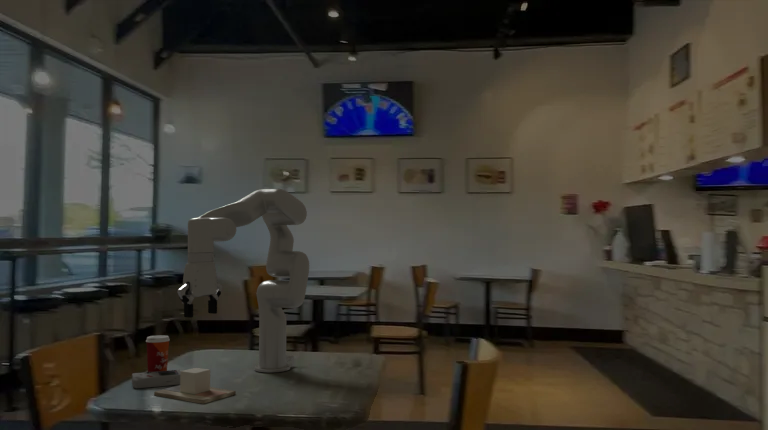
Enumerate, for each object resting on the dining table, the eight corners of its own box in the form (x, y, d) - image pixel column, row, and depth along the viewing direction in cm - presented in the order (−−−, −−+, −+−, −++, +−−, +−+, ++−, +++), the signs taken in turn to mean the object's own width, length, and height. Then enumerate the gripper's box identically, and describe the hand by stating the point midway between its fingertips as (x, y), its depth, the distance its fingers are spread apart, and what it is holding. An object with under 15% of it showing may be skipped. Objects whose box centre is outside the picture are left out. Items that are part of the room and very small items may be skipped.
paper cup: (161, 382, 206) (162, 338, 207) (140, 381, 208) (140, 338, 208) (174, 377, 214) (174, 335, 215) (153, 376, 215) (153, 334, 216)
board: (188, 386, 200) (188, 383, 200) (235, 394, 190) (235, 390, 190) (154, 395, 189) (154, 391, 189) (202, 403, 179) (203, 399, 179)
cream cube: (195, 387, 193) (195, 367, 194) (210, 390, 190) (210, 369, 191) (180, 391, 188) (180, 371, 188) (194, 394, 185) (195, 373, 186)
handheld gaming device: (131, 384, 205) (132, 372, 205) (179, 380, 211) (179, 368, 211) (133, 390, 197) (133, 378, 197) (183, 386, 203) (183, 374, 203)
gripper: (212, 257, 203) (212, 311, 202) (169, 259, 188) (169, 318, 188) (230, 257, 199) (230, 312, 199) (187, 260, 184) (187, 319, 184)
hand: (200, 315), depth 193 cm, fingers open, 9 cm apart
